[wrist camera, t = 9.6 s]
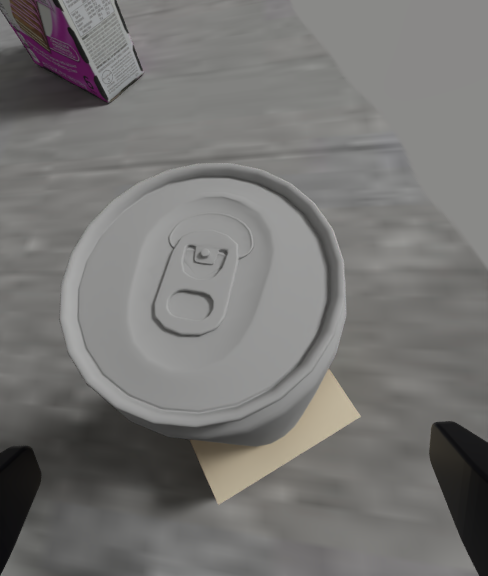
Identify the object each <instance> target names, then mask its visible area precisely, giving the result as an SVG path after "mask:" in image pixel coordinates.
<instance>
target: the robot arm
mask: <svg viewBox="0 0 488 576" xmlns="http://www.w3.org/2000/svg"><path fill="white" fill-rule="evenodd" d="M429 455H430V461H431V464H432V467H433V469H434V472H435V474H436V477H437V480H438V482H439V485H440V487H441V490H442V492H443V495H444V497H445V500H446V502H447V505H448V508H449V510H450V513H451V515H452V518H453V520H454V523H455V525H456V528H457V530H458V533H459V535H460V537H461V540H462V542H463V544H464V546H465V548H466V550H467V552H468V555H469V557H470V558H471V560H472V562H473V564H474V566H475V568H476V570H477V572H478V574H479V576H488V442H486V441H485V440H483V439H481V438H480V437H478V436H477V435H475V434H473V433H472V432H470V431H469V430H467V429H465V428H464V427H462V426H461V425H459V424H457V423H455V422H452V421H446V422H435V423H433V425H432V427H431V438H430V450H429ZM40 482H41V470H40V468H39V465H38V462H37V460H36V457H35V455H34V452H33V450H32V448H31V447H29V446H13V447H10V448H8V449H6V450H4V451H3V452H1V453H0V575H1V573H2V571H3V569H4V567H5V565H6V563H7V561H8V559H9V557H10V555H11V552H12V550H13V548H14V546H15V543H16V541H17V539H18V536H19V534H20V531H21V529H22V527H23V524H24V522H25V519H26V517H27V514H28V512H29V510H30V507H31V505H32V502H33V500H34V498H35V495H36V493H37V490H38V488H39V485H40Z"/></svg>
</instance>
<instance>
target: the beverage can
mask: <svg viewBox="0 0 488 576" xmlns="http://www.w3.org/2000/svg"><path fill="white" fill-rule="evenodd" d="M345 319H346V287H345V278H344V260H343V257H342V254H341V251H340V248H339V245H338V242H337V239H336V236H335V233H334V230H333V228H332V227H331V226H330V224H329V223H328V221H327V220H326V219H325V217H324V216H323V214H322V213H321V211H320V210H319V209H318V207H317V206H316V204H315V203H314V202H313V201H312V200H310V199H309V198H308V197H307V196H305V195H304V194H303V193H302V192H301V191H299V190H298V189H297V188H296V187H295V186H293V185H292V184H291V183H289V182H287V181H285V180H283V179H281V178H279V177H276V176H274V175H272V174H270V173H268V172H266V171H263V170H261V169H256V168H251V167H247V166H242V165H237V164H232V163H199V164H194V165H189V166H185V167H180V168H175V169H171V170H167V171H164V172H162V173H160V174H158V175H155V176H153V177H151V178H148V179H146V180H144V181H141V182H139V183H137V184H136V185H134V186H133V187H131V188H130V189H128V190H127V191H125V192H124V193H123V194H121V195H120V196H118V197H117V198H115V199H114V200H112V201H111V202H110V203H109V204H108V205H107V206H106V207H105V208H104V209H103V210H102V211H101V212H100V213H99V215H98V216H97V217H96V218H95V219H94V220H93V221H92V222H91V223H90V224H89V225H88V227H87V228H86V230H85V231H84V233H83V235H82V236H81V238H80V240H79V241H78V243H77V245H76V246H75V248H74V249H73V251H72V253H71V255H70V258H69V261H68V265H67V268H66V271H65V274H64V277H63V280H62V283H61V294H60V314H59V320H60V324H61V328H62V332H63V336H64V340H65V344H66V348H67V352H68V354H69V356H70V358H71V359H72V361H73V363H74V364H75V366H76V367H77V369H78V371H79V372H80V374H81V376H82V377H83V379H84V381H85V382H86V384H87V385H88V386H90V387H91V388H92V389H93V390H94V391H96V392H97V393H98V394H99V395H100V396H102V398H103V399H105V400H106V401H107V402H108V403H109V404H111V405H112V406H113V407H114V408H115V409H116V410H118V411H119V412H120V413H121V414H122V415H124V416H125V417H126V418H127V419H128V420H129V421H131V422H133V423H136V424H138V425H141V426H143V427H145V428H148V429H150V430H152V431H155V432H157V433H160V434H162V435H164V436H167V437H173V438H181V439H190V440H199V441H208V442H217V443H225V444H234V445H243V446H255V447H258V446H262V445H267V444H271V443H273V442H275V441H277V440H279V439H280V438H282V437H284V436H285V435H286V434H287V433H288V432H289V431H290V430H291V429H292V428H294V427H295V425H296V424H297V422H298V421H299V419H300V418H301V416H302V415H303V414H304V412H305V410H306V408H307V407H308V405H309V403H310V402H311V400H312V398H313V397H314V395H315V393H316V391H317V390H318V388H319V386H320V384H321V382H322V380H323V378H324V376H325V374H326V372H327V370H328V369H329V367H330V365H331V363H332V361H333V359H334V357H335V355H336V352H337V349H338V345H339V341H340V338H341V334H342V330H343V327H344V323H345Z"/></svg>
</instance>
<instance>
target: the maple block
mask: <svg viewBox="0 0 488 576" xmlns="http://www.w3.org/2000/svg"><path fill="white" fill-rule="evenodd" d="M359 417H361V416H360V415H359V413H358V412H357V410H356V409H355V407H354V406H353V404H352V403H351V401H350V400H349V398H348V397H347V395H346V394H345V392H344V391H343V389H342V388H341V386H340V385H339V383H338V382H337V380H336V379H335V377H334V376H333V374H332V373H331V371H330V370H329V369H328V370H327V372H326V374H325V376H324V378H323V380H322V382H321V384H320V386H319V388H318V390H317V391H316V393H315V395H314V397H313V398H312V400H311V402H310V403H309V405H308V407H307V408H306V410H305V412H304V414H303V415H302V416H301V418H300V419H299V421H298V422H297V424H296V425H295V427H294V428H292V429H291V430H290V431H289V432H288V433H287V434H286V435H285V436H284V437H282V438H280V439H279V440H277V441H275V442H273V443H271V444H267V445H262V446H258V447H255V446H243V445H234V444H225V443H217V442H208V441H199V440H190V442H191V444H192V446H193V449H194V451H195V453H196V455H197V458H198V460H199V462H200V464H201V467H202V469H203V471H204V474H205V476H206V478H207V480H208V483H209V485H210V487H211V489H212V492H213V494H214V496H215V498H216V501H217V503H218V505H219V504H221V503H222V502H224V501H226V500H227V499H229V498H230V497H232V496H234V495H235V494H237V493H238V492H240V491H242V490H243V489H245V488H247V487H248V486H250V485H251V484H253V483H255V482H256V481H258V480H259V479H261V478H263V477H264V476H266V475H267V474H269V473H271V472H272V471H274V470H276V469H277V468H279V467H280V466H282V465H284V464H285V463H287V462H288V461H290V460H292V459H293V458H295V457H296V456H298V455H300V454H301V453H303V452H305V451H306V450H308V449H309V448H311V447H313V446H314V445H316V444H317V443H319V442H321V441H322V440H324V439H326V438H327V437H329V436H330V435H332V434H334V433H335V432H337V431H338V430H340V429H342V428H343V427H345V426H346V425H348V424H350V423H351V422H353V421H355V420H356V419H358V418H359Z"/></svg>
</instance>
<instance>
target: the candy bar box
mask: <svg viewBox="0 0 488 576" xmlns="http://www.w3.org/2000/svg"><path fill="white" fill-rule="evenodd" d="M0 10H1V12H2V13H3V15H4V16H5V18H6V19H7V21H8V22H9V24H10V25H11V27H12V28H13V30H14V31H15V33H16V34H17V36H18V37H19V39H20V41H21V42H22V44H23V45H24V47H25V48H26V50H27V51H28V53H29V54H30V56H31V58H32V59H33V61H34V62H35V63H36V64H38V65H40V66H41V67H43V68H45V69H47V70H49V71H51V72H53V73H55V74H56V75H58V76H60V77H62V78H64V79H66V80H67V81H69V82H71V83H73V84H75V85H77V86H78V87H80V88H82V89H84V90H86V91H88V92H90V93H91V94H93V95H95V96H97V97H98V98H100V99H102V100H104V101H106V102H107V103H110V102H111V101H113V100H114V99H115V98H117V97H118V96H119V95H120V94H121V93H122V92H123V91H124V90H125V89H127V88H128V87H129V86H130V85H131V84H132V83H133V82H135V81H136V80H137V79H138V78H139V77H140V76H142V75H143V74H144V72H143V69H142V67H141V64H140V61H139V59H138V56H137V53H136V51H135V48H134V45H133V43H132V40H131V37H130V35H129V32H128V30H127V27H126V24H125V22H124V19H123V16H122V14H121V12H120V9H119V6H118V4H117V1H116V0H0Z"/></svg>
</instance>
